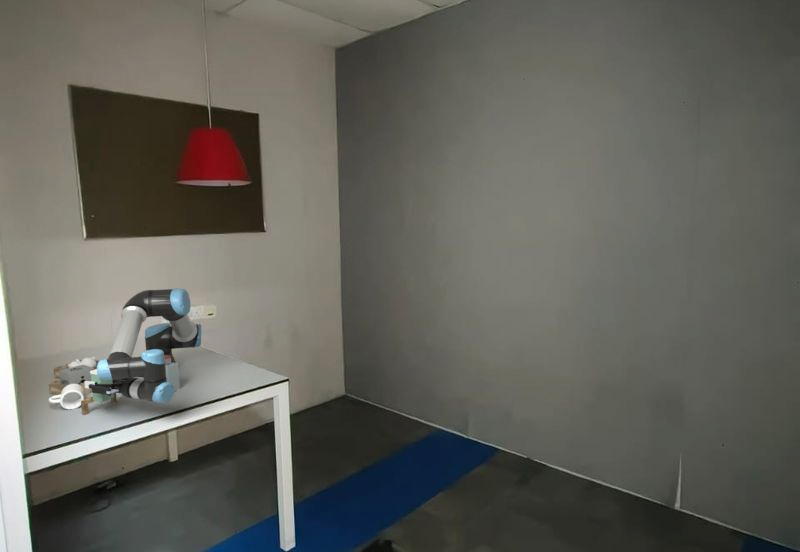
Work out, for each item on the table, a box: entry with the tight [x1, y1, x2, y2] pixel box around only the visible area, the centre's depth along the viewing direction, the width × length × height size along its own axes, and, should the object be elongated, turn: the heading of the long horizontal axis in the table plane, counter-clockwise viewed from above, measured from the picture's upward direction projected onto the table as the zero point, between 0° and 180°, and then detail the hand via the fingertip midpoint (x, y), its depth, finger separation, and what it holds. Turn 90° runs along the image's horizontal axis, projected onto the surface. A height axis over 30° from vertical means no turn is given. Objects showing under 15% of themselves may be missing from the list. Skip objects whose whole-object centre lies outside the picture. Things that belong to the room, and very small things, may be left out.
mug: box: [48, 384, 85, 411], centre depth 199 cm, size 12×10×8 cm
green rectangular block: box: [90, 369, 114, 403], centre depth 191 cm, size 5×5×12 cm
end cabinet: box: [137, 362, 181, 392], centre depth 217 cm, size 7×18×12 cm, turn 70°
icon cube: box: [59, 365, 94, 385], centre depth 217 cm, size 10×10×10 cm
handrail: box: [80, 393, 118, 416], centre depth 203 cm, size 27×2×6 cm, turn 160°
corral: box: [48, 358, 100, 396], centre depth 229 cm, size 32×36×5 cm
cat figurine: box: [67, 356, 97, 368], centre depth 242 cm, size 9×11×12 cm
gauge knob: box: [164, 355, 171, 365], centre depth 215 cm, size 3×3×3 cm
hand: (92, 382), depth 192 cm, fingers closed on green rectangular block, 5 cm apart
